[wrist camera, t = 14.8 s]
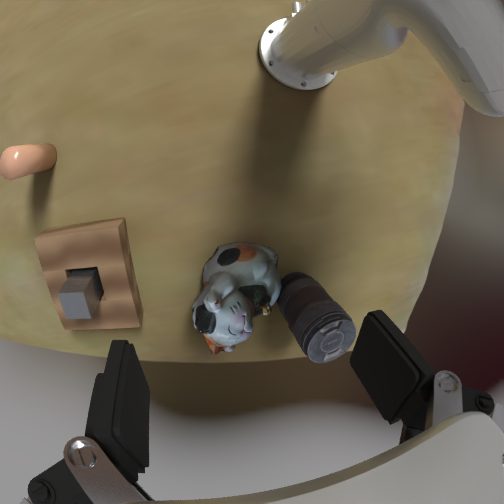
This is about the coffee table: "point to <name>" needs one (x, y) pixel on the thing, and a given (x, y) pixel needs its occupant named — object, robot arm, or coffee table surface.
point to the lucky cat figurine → (235, 293)
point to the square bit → (81, 293)
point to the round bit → (27, 160)
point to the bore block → (93, 255)
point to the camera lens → (315, 318)
